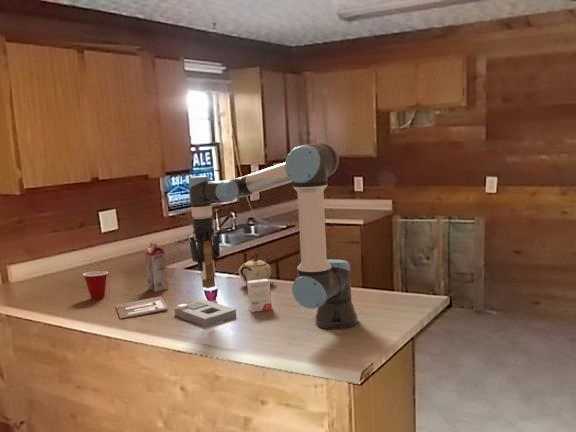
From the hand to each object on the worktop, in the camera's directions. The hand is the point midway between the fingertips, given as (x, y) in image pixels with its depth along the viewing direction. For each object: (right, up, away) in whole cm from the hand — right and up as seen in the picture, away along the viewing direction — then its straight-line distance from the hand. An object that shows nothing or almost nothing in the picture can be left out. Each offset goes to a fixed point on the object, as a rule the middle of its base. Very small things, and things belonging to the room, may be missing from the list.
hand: (208, 277), depth 218 cm
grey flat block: (-2, -16, +6) cm, 17 cm away
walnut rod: (0, -4, +1) cm, 4 cm away
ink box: (+19, -14, +10) cm, 26 cm away
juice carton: (-31, -11, +51) cm, 60 cm away
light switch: (-31, -16, +20) cm, 40 cm away
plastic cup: (-56, -14, +42) cm, 71 cm away
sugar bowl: (+16, -9, +47) cm, 50 cm away
